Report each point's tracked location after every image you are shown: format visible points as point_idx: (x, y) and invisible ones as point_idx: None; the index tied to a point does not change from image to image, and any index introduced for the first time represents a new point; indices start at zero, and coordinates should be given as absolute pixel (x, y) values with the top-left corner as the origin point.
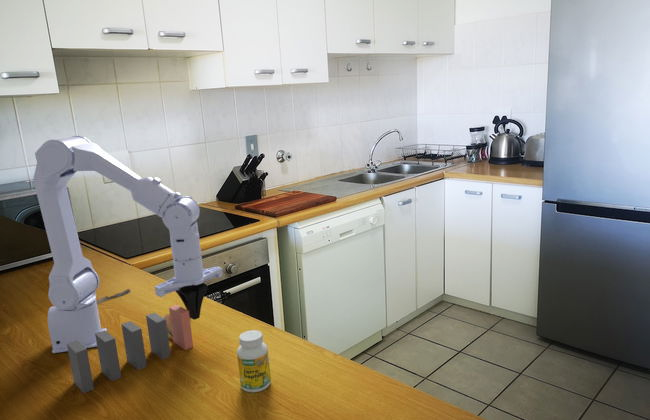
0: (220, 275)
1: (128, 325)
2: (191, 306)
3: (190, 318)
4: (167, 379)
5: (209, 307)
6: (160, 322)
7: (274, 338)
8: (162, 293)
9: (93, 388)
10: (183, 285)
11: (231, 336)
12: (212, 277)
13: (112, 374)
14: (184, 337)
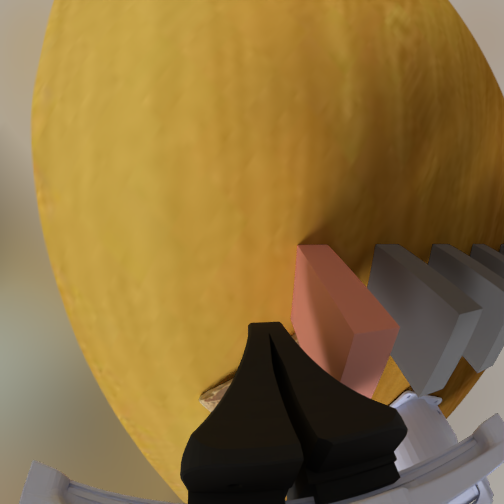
0: (42, 473)
1: (499, 346)
2: (317, 365)
3: (202, 395)
4: (441, 135)
5: (131, 406)
6: (473, 307)
7: (66, 77)
8: (498, 429)
9: (502, 244)
10: (444, 483)
11: (153, 202)
12: (101, 495)
13: (492, 249)
14: (343, 263)
